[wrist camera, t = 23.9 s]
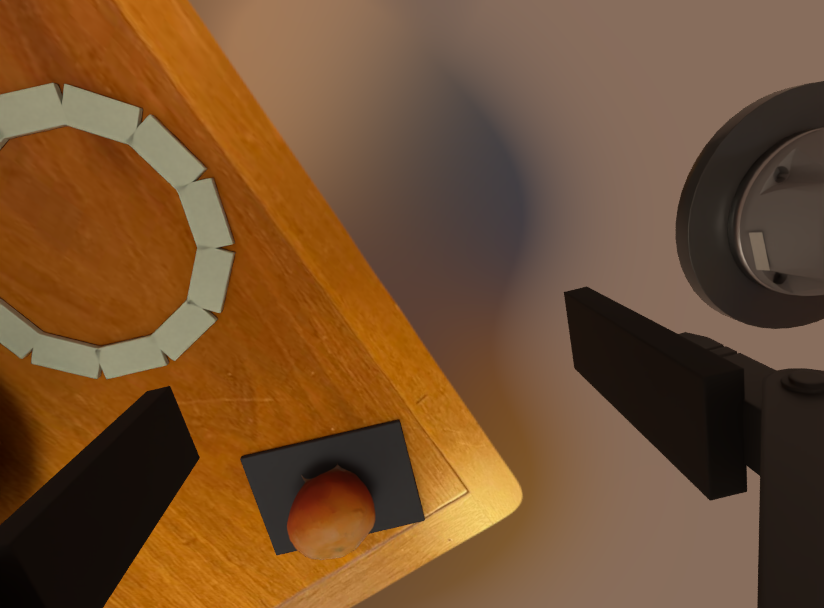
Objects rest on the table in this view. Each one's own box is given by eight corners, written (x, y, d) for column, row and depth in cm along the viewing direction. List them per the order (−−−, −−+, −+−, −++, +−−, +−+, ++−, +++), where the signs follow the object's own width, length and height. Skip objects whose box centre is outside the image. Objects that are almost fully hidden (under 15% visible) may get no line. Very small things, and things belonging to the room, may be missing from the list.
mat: (399, 419, 45) (399, 421, 45) (424, 517, 48) (424, 520, 48) (241, 456, 45) (239, 459, 44) (277, 551, 48) (276, 555, 48)
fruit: (338, 437, 43) (357, 521, 37) (374, 465, 49) (395, 541, 43) (265, 476, 43) (273, 564, 38) (309, 498, 49) (321, 578, 44)
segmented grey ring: (173, 57, 35) (170, 55, 35) (267, 340, 42) (265, 342, 41) (-130, 126, 35) (-139, 125, 35) (11, 399, 42) (6, 402, 41)
